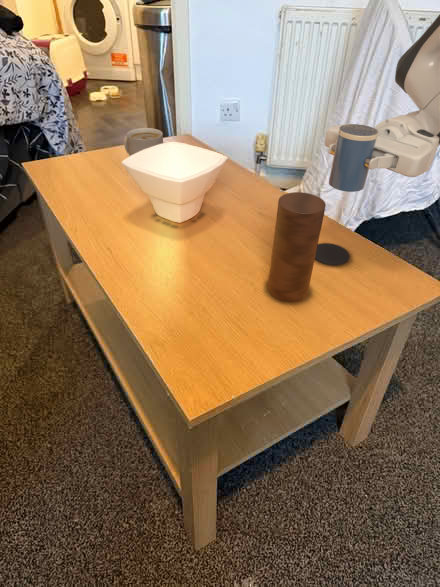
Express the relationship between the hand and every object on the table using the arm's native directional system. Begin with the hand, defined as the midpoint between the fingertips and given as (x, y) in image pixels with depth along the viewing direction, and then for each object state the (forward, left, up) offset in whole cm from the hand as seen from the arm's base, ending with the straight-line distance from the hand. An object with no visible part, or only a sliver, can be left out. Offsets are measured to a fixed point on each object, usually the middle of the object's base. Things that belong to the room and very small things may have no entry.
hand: (349, 157), depth 73 cm
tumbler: (-1, -1, -5) cm, 6 cm away
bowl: (+35, -10, -21) cm, 43 cm away
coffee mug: (+53, -37, -21) cm, 68 cm away
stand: (+7, +13, -21) cm, 26 cm away
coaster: (-1, -1, -21) cm, 21 cm away
